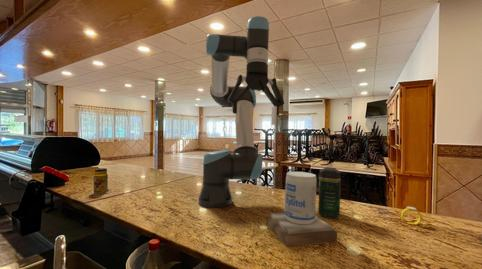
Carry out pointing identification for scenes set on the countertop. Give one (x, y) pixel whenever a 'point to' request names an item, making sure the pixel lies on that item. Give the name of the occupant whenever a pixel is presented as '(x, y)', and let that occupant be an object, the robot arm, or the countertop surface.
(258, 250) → the countertop surface
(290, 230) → the plinth
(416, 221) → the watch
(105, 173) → the condiment
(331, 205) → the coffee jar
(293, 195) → the supplement tub
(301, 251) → the countertop surface
